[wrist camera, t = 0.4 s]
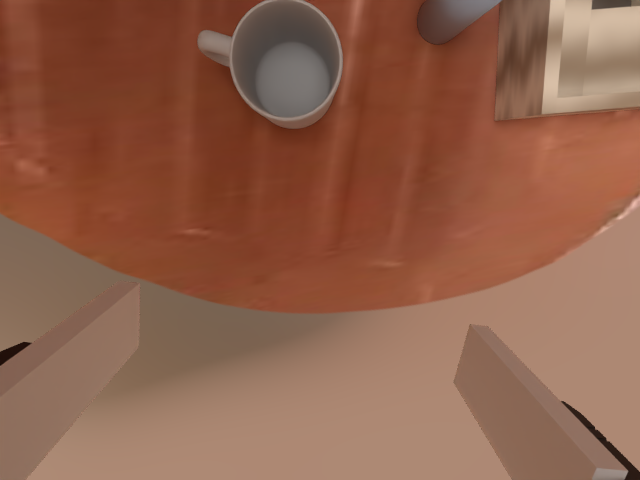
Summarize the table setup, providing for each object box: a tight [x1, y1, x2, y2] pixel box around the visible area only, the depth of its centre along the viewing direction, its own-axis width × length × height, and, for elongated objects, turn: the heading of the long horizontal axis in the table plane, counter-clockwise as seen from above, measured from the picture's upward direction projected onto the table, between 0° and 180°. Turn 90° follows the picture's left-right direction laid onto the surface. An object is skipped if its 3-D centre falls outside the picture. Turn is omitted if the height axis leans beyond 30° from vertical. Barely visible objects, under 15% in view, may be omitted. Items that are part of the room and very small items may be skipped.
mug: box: [197, 0, 343, 129], centre depth 31 cm, size 12×8×11 cm
